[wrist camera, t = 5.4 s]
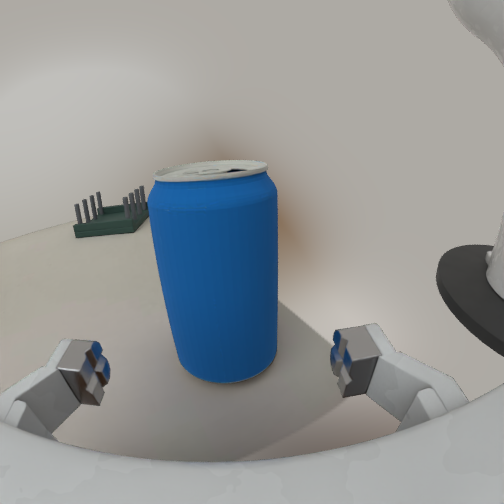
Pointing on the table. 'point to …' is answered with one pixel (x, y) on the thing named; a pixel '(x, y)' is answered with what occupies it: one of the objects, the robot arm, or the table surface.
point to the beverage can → (218, 265)
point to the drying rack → (112, 216)
